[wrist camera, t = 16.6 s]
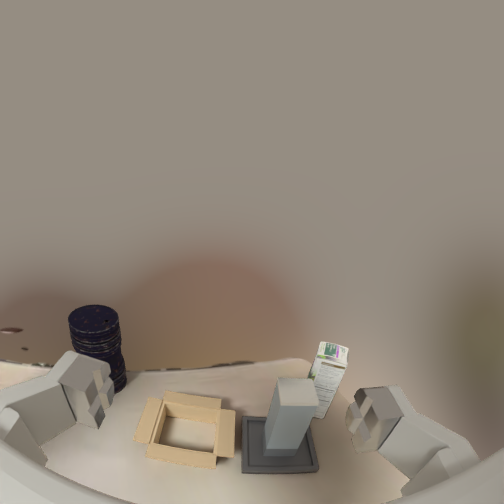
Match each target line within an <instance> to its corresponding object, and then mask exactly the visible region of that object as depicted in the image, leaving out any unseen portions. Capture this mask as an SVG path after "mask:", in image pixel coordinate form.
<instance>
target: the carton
mask: <svg viewBox="0 0 504 504" xmlns="http://www.w3.org/2000/svg"><path fill="white" fill-rule="evenodd" d="M166 416H171V417H176V418H182V419H188V420H194V421H201V422H208V423H216V430H215V441H214V451H213V453H208V452H200V451H194V450H187V449H181V448H176V447H171V446H166V445H161V444H158V443H159V439H160V435H161V432H162V428H163V425H164V421H165V418H166ZM133 440H134V441H137V442H141V443H145V444H149V445H148V448H147V451H146V455H145V457H148V458H152V459H157V460H161V461H166V462H171V463H176V464H182V465H188V466H194V467H201V468H209V469H216V457H217V456H221V457H231V458H234V440H235V410H226V409H221V399H217V398H209V397H202V396H195V395H189V394H183V393H177V392H171V391H165V394H164V397H163V400H161V399H156V398H152V397H148V400H147V403H146V405H145V408H144V411H143V413H142V416H141V419H140V421H139V424H138V427H137V430H136V432H135V435H134V438H133Z"/></svg>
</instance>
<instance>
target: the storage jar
mask: <svg viewBox="0 0 504 504" xmlns="http://www.w3.org/2000/svg"><path fill="white" fill-rule="evenodd" d="M68 322H69V328H70V335H71V339H72V344H73V347H74V349H75V350H76V353H79V354H83V355H86V356H89V357H92V358H95V359H98V360H101V361H104V362H107V363H108V364H109V366H110V370H111V373H110V374H109V377H110V379H111V380H112V381H113V384H114V394H116V393H118V392H120V391H121V390H122V389H123V388H124V387H125V385H126V382H127V378H126V369H125V363H124V358H123V356H122V354H121V347H120V346H121V332H120V327H119V317H118V314H117V312H116V311H115V310H114V309H111V308H110V307H107V306H103V305H86V306H82V307H79V308H77V309H75V310H74V311H72V312H71V313H70V315H69V317H68Z"/></svg>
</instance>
